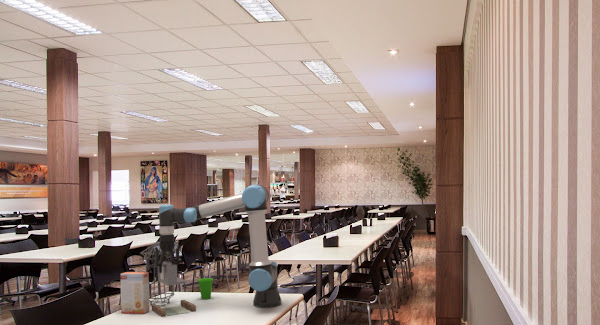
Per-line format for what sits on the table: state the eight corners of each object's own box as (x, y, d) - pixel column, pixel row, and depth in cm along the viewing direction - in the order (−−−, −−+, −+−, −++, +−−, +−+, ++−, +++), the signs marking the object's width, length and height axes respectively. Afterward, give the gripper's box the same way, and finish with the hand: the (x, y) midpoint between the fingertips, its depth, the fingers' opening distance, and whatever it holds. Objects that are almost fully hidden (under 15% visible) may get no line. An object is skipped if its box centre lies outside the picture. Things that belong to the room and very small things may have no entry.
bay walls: (195, 311, 268) (195, 305, 268) (161, 316, 258) (161, 310, 259) (184, 305, 283) (184, 299, 283) (151, 310, 274) (151, 304, 274)
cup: (210, 300, 293) (210, 280, 294) (195, 300, 295) (195, 281, 296) (216, 296, 302) (215, 278, 303) (201, 296, 304) (201, 278, 304)
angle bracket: (158, 281, 276) (158, 262, 276) (176, 278, 281) (176, 260, 282) (167, 285, 262) (167, 265, 263) (186, 283, 268) (186, 263, 268)
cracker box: (150, 311, 271) (149, 271, 272) (143, 314, 266) (142, 273, 267) (128, 310, 276) (127, 271, 277) (120, 313, 270) (119, 273, 271)
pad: (190, 312, 266) (190, 311, 266) (167, 315, 260) (167, 315, 260) (178, 306, 282) (178, 305, 282) (157, 309, 275) (157, 308, 275)
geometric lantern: (165, 307, 278) (163, 243, 280) (139, 307, 283) (138, 243, 284) (179, 301, 294) (177, 240, 295) (154, 300, 298) (153, 240, 299)
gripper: (151, 235, 264) (152, 281, 262) (185, 233, 273) (186, 277, 272) (147, 234, 270) (148, 279, 269) (181, 232, 279) (181, 275, 278)
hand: (167, 278), depth 270 cm, fingers closed on angle bracket, 5 cm apart
